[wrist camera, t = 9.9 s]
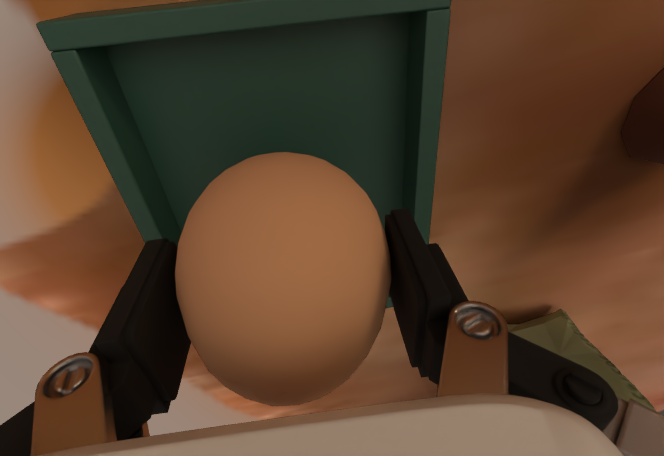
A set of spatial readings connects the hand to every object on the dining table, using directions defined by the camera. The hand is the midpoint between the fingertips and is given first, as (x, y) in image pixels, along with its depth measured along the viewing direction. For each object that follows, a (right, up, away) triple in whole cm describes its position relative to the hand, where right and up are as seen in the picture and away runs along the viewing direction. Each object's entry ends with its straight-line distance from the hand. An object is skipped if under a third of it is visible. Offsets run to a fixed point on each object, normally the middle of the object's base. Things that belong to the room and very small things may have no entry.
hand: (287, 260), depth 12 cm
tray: (-1, +4, +5) cm, 6 cm away
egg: (0, +2, +4) cm, 4 cm away
